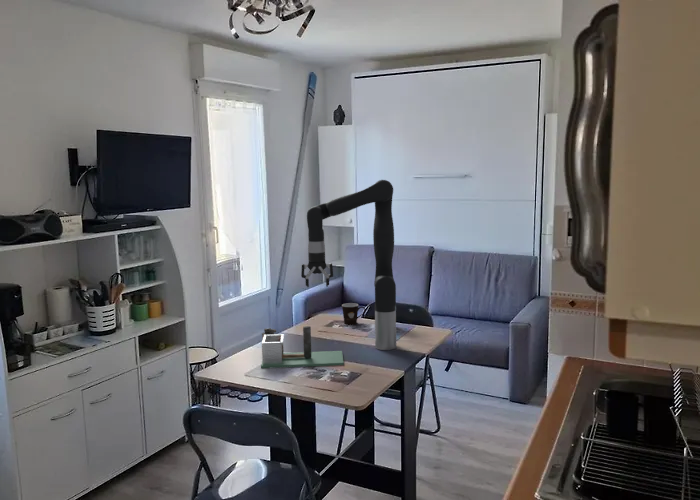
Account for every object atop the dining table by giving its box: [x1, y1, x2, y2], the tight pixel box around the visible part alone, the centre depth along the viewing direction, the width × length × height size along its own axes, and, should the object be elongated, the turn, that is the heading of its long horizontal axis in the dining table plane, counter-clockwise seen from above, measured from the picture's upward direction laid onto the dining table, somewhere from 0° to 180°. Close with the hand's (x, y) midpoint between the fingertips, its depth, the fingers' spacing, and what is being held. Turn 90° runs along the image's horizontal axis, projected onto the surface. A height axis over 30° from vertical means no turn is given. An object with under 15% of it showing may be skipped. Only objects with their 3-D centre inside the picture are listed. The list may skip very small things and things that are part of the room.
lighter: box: [261, 327, 277, 339], centre depth 261 cm, size 8×3×10 cm, turn 62°
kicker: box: [282, 325, 312, 358], centre depth 246 cm, size 15×5×13 cm, turn 93°
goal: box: [261, 333, 285, 364], centre depth 245 cm, size 8×12×9 cm
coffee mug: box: [341, 302, 366, 326], centre depth 303 cm, size 12×9×10 cm
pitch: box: [260, 350, 345, 369], centre depth 247 cm, size 34×16×1 cm, turn 93°
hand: (317, 286), depth 261 cm, fingers open, 8 cm apart
